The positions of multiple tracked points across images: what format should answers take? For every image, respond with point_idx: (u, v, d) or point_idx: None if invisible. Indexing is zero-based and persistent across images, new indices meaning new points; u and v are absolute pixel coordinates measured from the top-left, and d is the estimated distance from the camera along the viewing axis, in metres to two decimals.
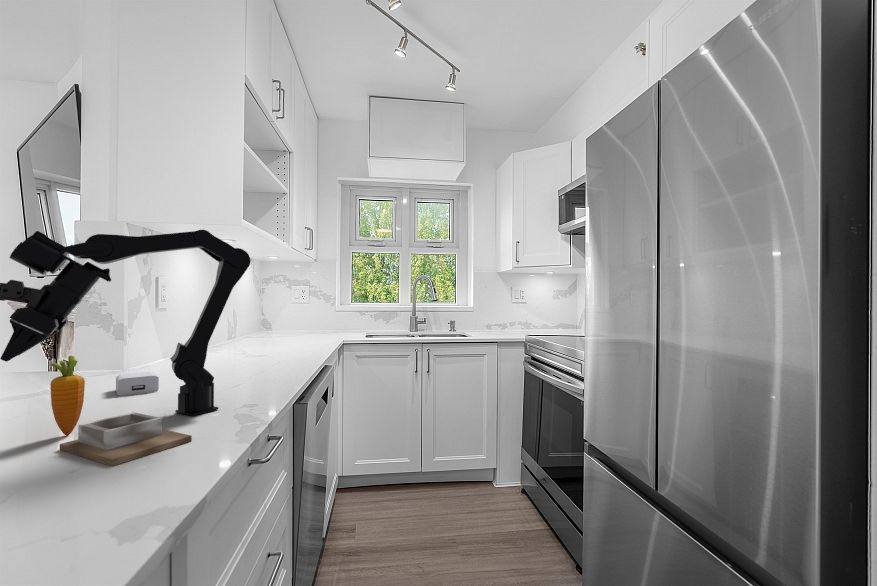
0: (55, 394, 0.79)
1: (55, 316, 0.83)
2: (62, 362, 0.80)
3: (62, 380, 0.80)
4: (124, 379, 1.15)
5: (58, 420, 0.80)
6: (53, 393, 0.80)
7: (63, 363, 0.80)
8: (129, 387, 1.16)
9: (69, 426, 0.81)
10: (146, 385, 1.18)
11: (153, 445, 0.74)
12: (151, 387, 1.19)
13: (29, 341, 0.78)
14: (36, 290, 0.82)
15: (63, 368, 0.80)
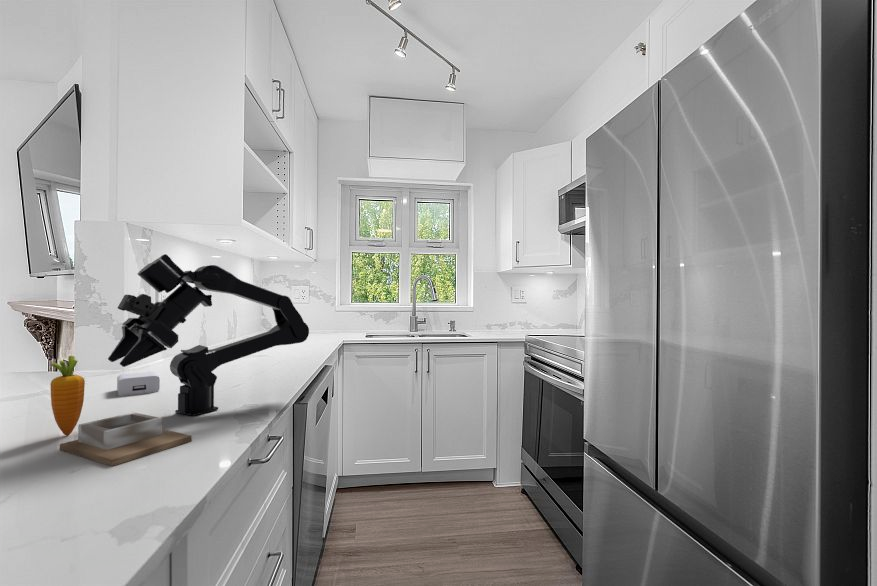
0: (55, 394, 0.79)
1: None
2: (62, 362, 0.80)
3: (62, 380, 0.80)
4: (125, 379, 1.15)
5: (58, 420, 0.80)
6: (53, 393, 0.80)
7: (63, 363, 0.80)
8: (130, 387, 1.15)
9: (69, 426, 0.81)
10: (147, 385, 1.18)
11: (153, 445, 0.74)
12: (152, 388, 1.18)
13: (149, 351, 0.87)
14: (155, 306, 0.91)
15: (63, 368, 0.80)
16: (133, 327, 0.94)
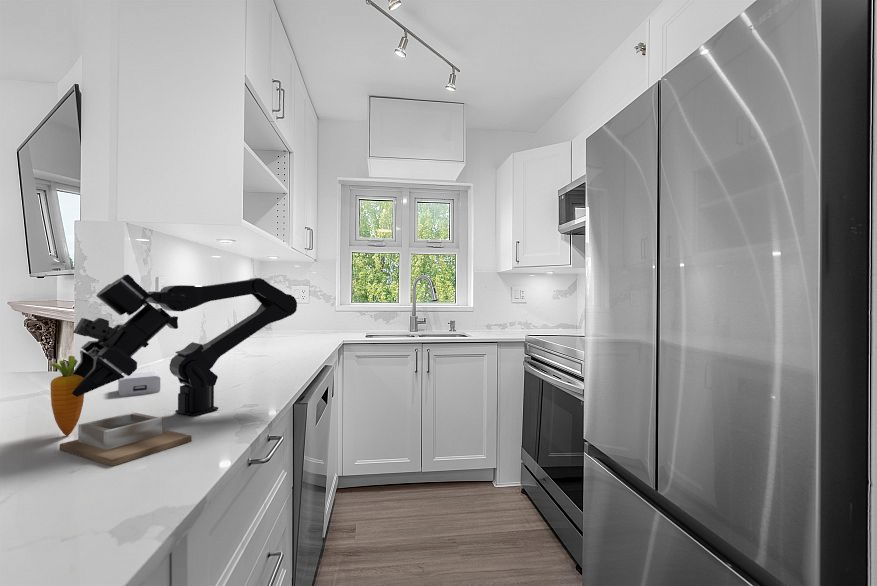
0: (55, 394, 0.79)
1: None
2: (62, 362, 0.80)
3: (62, 380, 0.80)
4: (126, 379, 1.14)
5: (58, 420, 0.80)
6: (53, 393, 0.80)
7: (63, 363, 0.80)
8: (131, 387, 1.15)
9: (69, 426, 0.81)
10: (148, 385, 1.17)
11: (153, 445, 0.74)
12: (153, 388, 1.18)
13: (104, 379, 0.81)
14: (114, 330, 0.86)
15: (63, 368, 0.80)
16: (92, 351, 0.89)
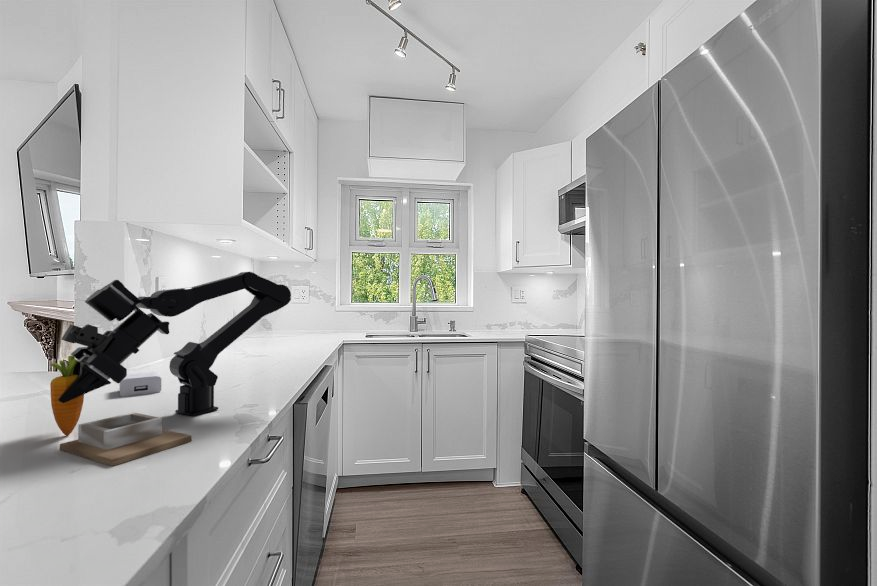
0: (55, 394, 0.80)
1: None
2: (62, 362, 0.80)
3: (62, 380, 0.80)
4: (127, 379, 1.14)
5: (58, 420, 0.80)
6: (52, 393, 0.80)
7: (63, 363, 0.80)
8: (132, 388, 1.15)
9: (69, 426, 0.81)
10: (149, 386, 1.17)
11: (153, 445, 0.74)
12: (154, 388, 1.18)
13: (91, 385, 0.81)
14: (104, 336, 0.84)
15: (63, 368, 0.80)
16: (84, 359, 0.86)
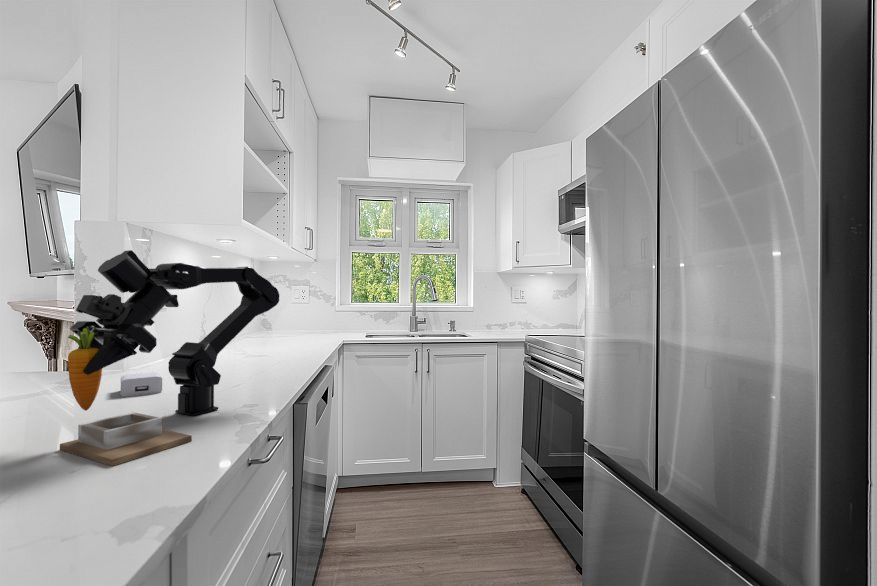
0: (77, 367, 0.77)
1: None
2: (84, 333, 0.77)
3: (84, 352, 0.77)
4: (127, 380, 1.14)
5: (79, 394, 0.77)
6: (73, 366, 0.77)
7: (84, 334, 0.77)
8: (132, 388, 1.14)
9: (90, 400, 0.78)
10: (149, 386, 1.17)
11: (153, 445, 0.74)
12: (155, 388, 1.17)
13: (116, 356, 0.80)
14: (122, 307, 0.83)
15: (83, 340, 0.78)
16: None
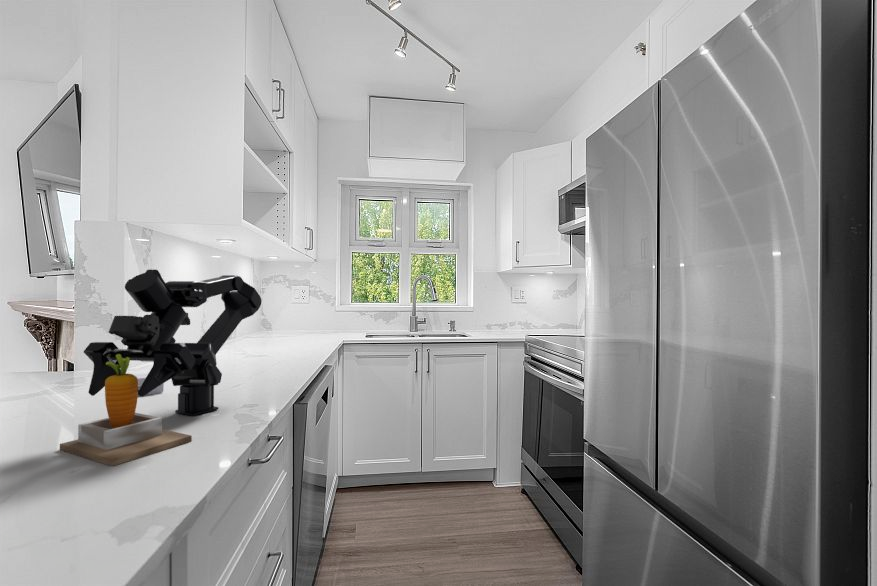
0: (119, 394, 0.76)
1: None
2: (125, 360, 0.76)
3: (125, 378, 0.76)
4: None
5: (119, 421, 0.76)
6: (114, 393, 0.75)
7: (125, 361, 0.77)
8: None
9: None
10: None
11: (153, 445, 0.74)
12: (156, 389, 1.17)
13: (165, 377, 0.80)
14: None
15: (123, 366, 0.77)
16: (106, 353, 0.81)
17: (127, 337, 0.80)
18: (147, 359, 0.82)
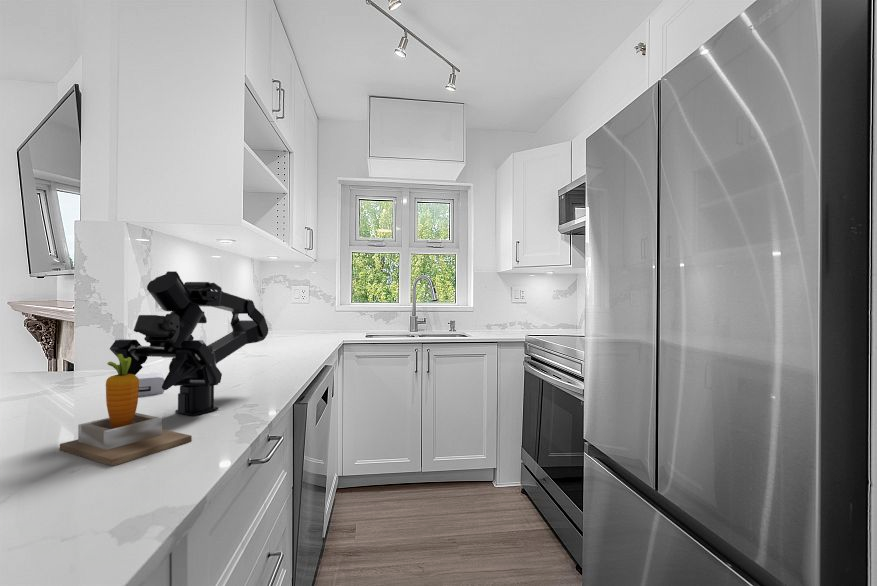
0: (119, 394, 0.75)
1: None
2: (127, 360, 0.76)
3: (126, 378, 0.76)
4: None
5: (120, 421, 0.76)
6: (115, 393, 0.75)
7: (127, 361, 0.76)
8: None
9: None
10: (151, 387, 1.16)
11: (153, 445, 0.74)
12: (157, 389, 1.17)
13: (185, 371, 0.86)
14: None
15: (125, 366, 0.77)
16: (131, 349, 0.87)
17: (150, 335, 0.86)
18: (168, 355, 0.87)
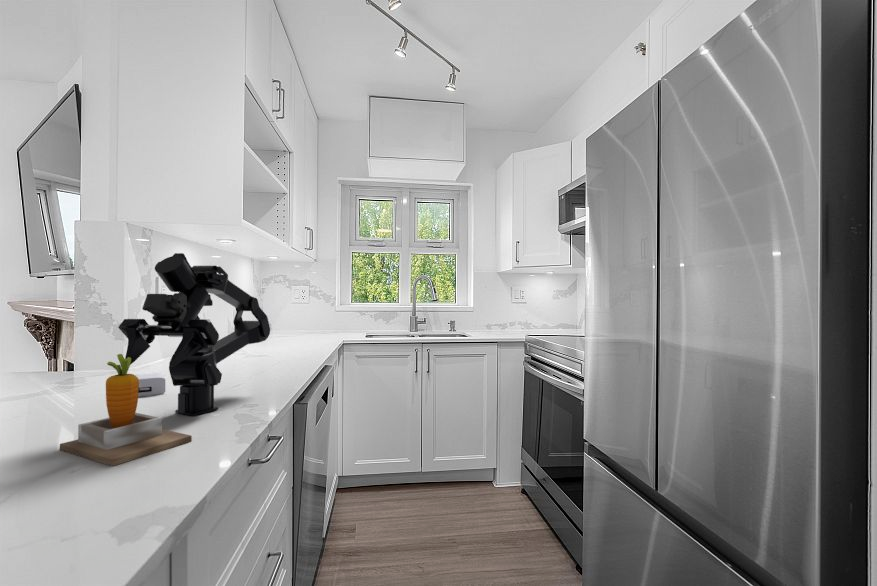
0: (119, 394, 0.75)
1: None
2: (127, 360, 0.76)
3: (126, 378, 0.76)
4: None
5: (120, 421, 0.76)
6: (115, 393, 0.75)
7: (127, 361, 0.76)
8: None
9: None
10: (152, 387, 1.15)
11: (153, 445, 0.74)
12: (158, 389, 1.16)
13: (192, 349, 0.88)
14: None
15: (125, 366, 0.77)
16: (139, 328, 0.89)
17: (158, 314, 0.88)
18: (176, 334, 0.90)
